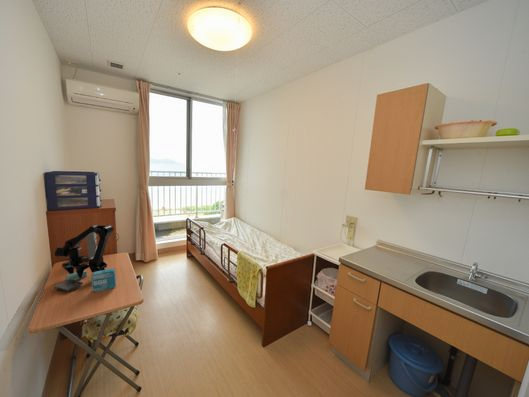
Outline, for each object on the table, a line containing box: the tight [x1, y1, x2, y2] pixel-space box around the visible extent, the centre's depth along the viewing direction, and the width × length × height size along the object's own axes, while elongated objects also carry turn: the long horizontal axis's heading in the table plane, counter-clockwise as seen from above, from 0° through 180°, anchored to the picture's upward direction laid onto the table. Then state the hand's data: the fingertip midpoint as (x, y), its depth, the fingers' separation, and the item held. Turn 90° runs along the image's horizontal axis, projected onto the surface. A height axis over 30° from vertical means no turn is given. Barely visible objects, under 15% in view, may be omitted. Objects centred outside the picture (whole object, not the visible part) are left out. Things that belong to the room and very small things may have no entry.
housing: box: [65, 270, 88, 281], centre depth 154 cm, size 5×10×4 cm, turn 150°
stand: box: [53, 280, 84, 293], centre depth 142 cm, size 13×9×2 cm
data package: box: [90, 268, 117, 293], centre depth 141 cm, size 12×4×12 cm, turn 121°
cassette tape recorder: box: [85, 232, 98, 259], centre depth 189 cm, size 14×6×25 cm, turn 32°
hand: (76, 276), depth 154 cm, fingers open, 8 cm apart
